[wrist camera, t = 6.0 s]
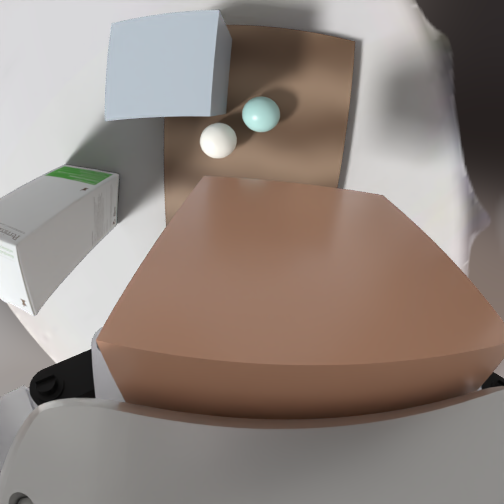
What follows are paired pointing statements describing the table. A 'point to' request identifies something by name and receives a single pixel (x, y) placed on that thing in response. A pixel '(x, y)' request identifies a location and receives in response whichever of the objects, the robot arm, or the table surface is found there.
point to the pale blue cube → (168, 66)
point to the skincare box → (52, 230)
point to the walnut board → (291, 114)
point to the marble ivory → (218, 140)
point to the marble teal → (261, 114)
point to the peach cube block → (297, 309)
